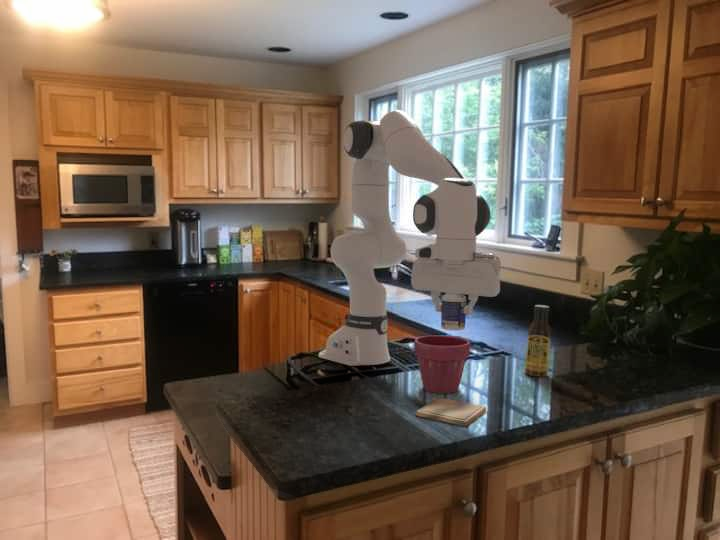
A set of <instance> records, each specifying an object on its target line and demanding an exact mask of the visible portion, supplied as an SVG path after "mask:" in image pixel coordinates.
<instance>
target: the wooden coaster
mask: <svg viewBox="0 0 720 540" xmlns="http://www.w3.org/2000/svg"><path fill="white" fill-rule="evenodd" d="M485 412H487V406H484V405H479V404H475V403H474V404H473V403H468V402H464V401H463V402H462V401H458V400H454V399H448V398H444V397H443V398H442V397H437V398H436V399H434V400H432V401H431V402H429V403H427V404H426V405H424V406H422V407H421V408H419V409H417V410H416V412H415V415H416V416H418V417H422V418H426V419H430V420H435V421H439V422H445V423H449V424H452V425H458V426H462V427H467V426H469V425H470V424H471V423H473V422H474V421H475V420H476V419H478V418H479V417H481V416H482V415H483V414H485Z"/></svg>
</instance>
